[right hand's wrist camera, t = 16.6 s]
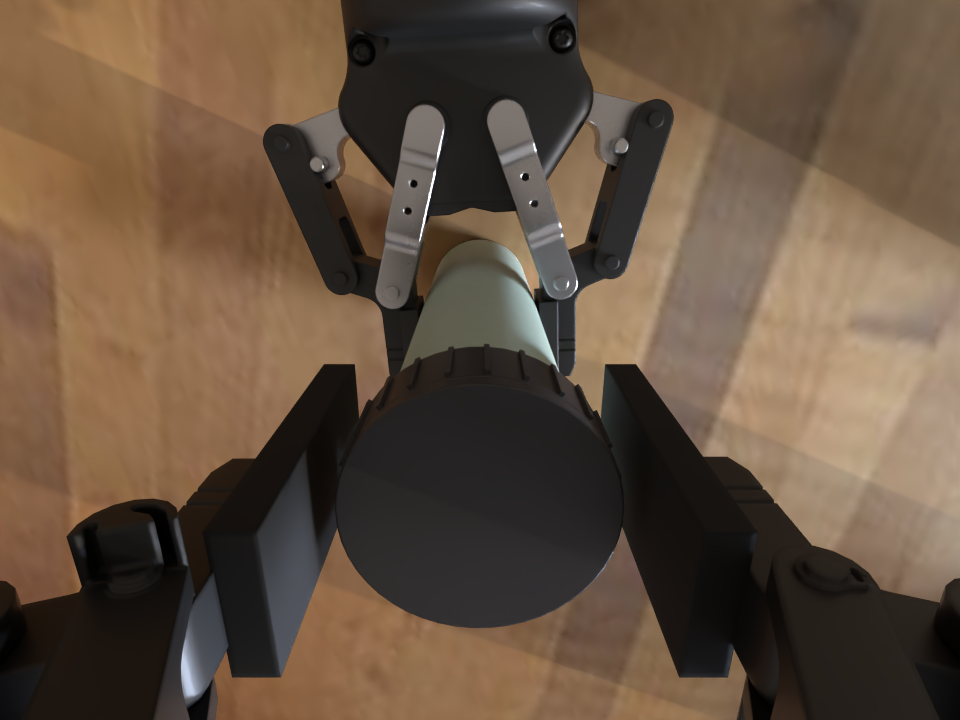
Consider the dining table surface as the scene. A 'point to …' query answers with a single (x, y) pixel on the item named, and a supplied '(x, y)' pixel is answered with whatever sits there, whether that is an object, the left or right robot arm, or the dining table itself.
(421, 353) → the bottle
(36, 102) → the dining table surface
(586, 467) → the lid
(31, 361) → the dining table surface
